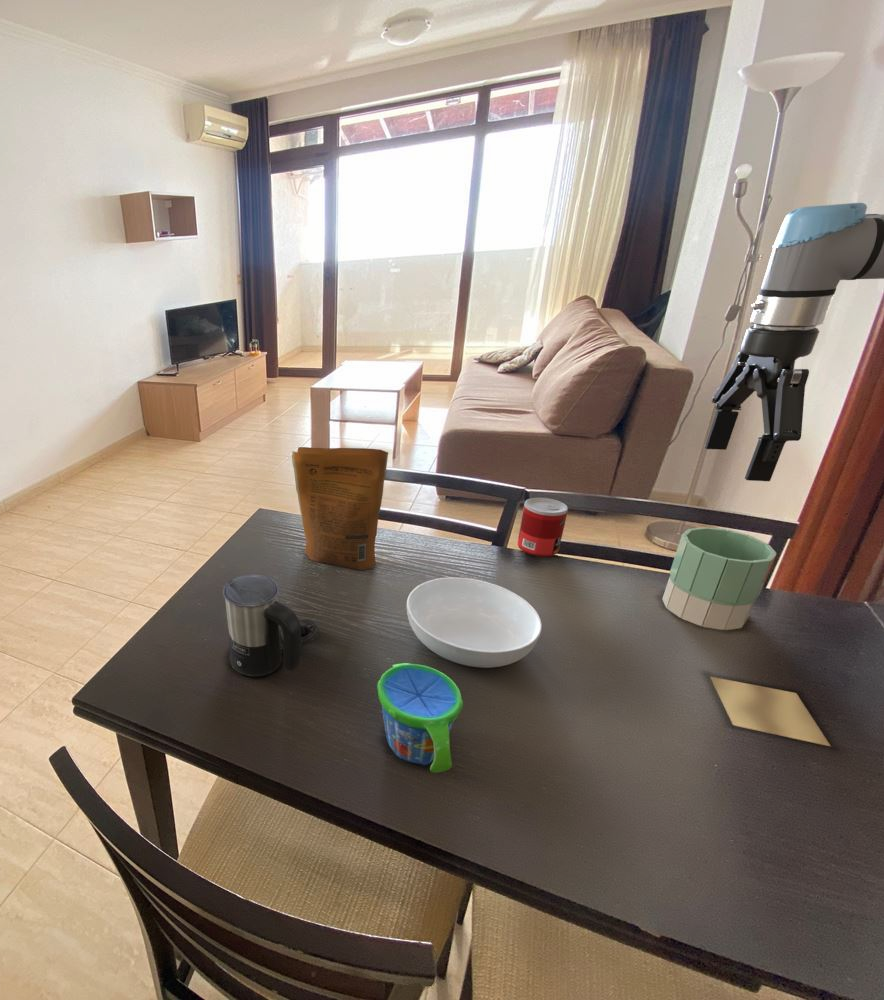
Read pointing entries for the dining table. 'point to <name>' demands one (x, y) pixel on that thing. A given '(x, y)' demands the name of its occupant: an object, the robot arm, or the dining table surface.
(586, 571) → the dining table surface
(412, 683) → the snack cup
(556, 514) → the canned food
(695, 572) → the green bowl
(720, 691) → the placemat
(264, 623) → the milk frother
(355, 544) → the pancake mix bag
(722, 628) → the cream bowl
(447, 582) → the serving bowl
